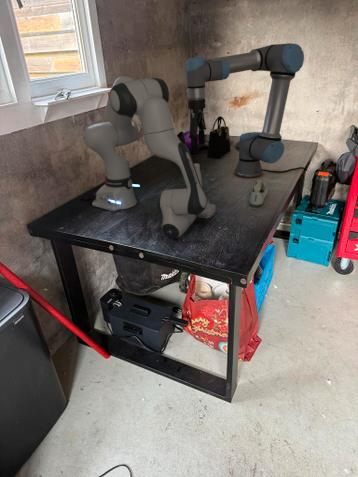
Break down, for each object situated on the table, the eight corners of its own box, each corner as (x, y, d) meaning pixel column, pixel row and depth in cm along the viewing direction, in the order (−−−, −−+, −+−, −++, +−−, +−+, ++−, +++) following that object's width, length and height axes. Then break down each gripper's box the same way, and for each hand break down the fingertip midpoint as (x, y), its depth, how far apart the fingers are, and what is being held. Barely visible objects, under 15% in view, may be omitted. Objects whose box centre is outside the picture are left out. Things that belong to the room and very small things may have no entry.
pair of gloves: (199, 151, 237) (198, 143, 234) (184, 143, 257) (184, 136, 255) (235, 144, 246) (235, 137, 244) (218, 138, 267) (218, 131, 264)
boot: (194, 157, 223) (193, 127, 213) (188, 169, 203) (187, 135, 193) (182, 157, 225) (180, 127, 215) (174, 168, 205) (172, 136, 194)
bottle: (199, 210, 151) (198, 162, 139) (204, 214, 147) (203, 164, 136) (191, 212, 149) (189, 163, 138) (195, 216, 146) (193, 166, 134)
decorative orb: (204, 151, 235) (204, 129, 228) (194, 156, 225) (193, 134, 217) (186, 149, 243) (186, 128, 235) (175, 154, 232) (174, 132, 224)
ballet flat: (269, 188, 169) (270, 173, 165) (265, 208, 149) (266, 191, 145) (252, 187, 171) (253, 172, 167) (246, 206, 151) (247, 190, 147)
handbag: (218, 159, 217) (218, 119, 204) (206, 157, 221) (205, 119, 209) (231, 151, 232) (232, 114, 219) (219, 150, 236) (220, 113, 224)
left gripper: (210, 210, 129) (220, 196, 140) (163, 204, 137) (176, 191, 148) (210, 224, 133) (220, 210, 143) (164, 217, 140) (177, 204, 151)
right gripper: (195, 94, 151) (197, 141, 162) (179, 103, 131) (183, 156, 142) (211, 94, 149) (212, 141, 160) (198, 103, 129) (200, 156, 140)
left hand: (197, 200), depth 146 cm, fingers open, 8 cm apart
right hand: (198, 148), depth 151 cm, fingers open, 13 cm apart
